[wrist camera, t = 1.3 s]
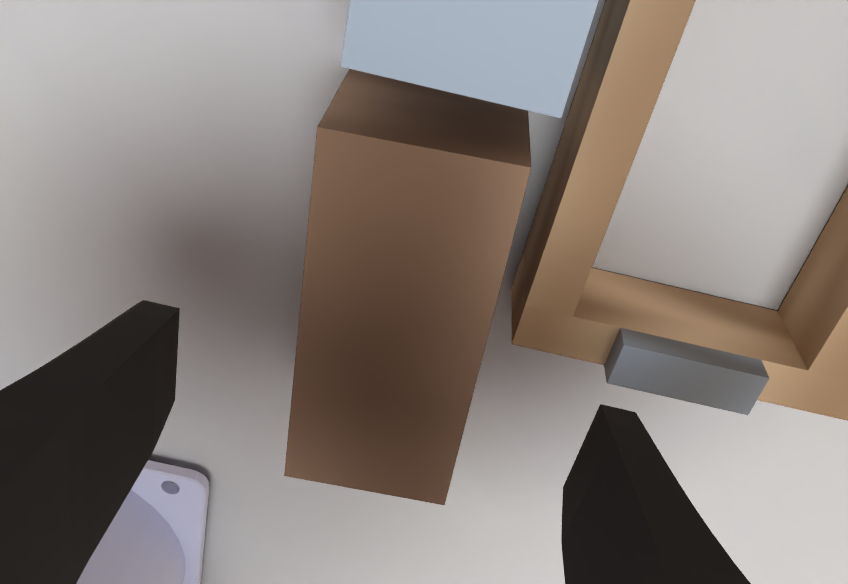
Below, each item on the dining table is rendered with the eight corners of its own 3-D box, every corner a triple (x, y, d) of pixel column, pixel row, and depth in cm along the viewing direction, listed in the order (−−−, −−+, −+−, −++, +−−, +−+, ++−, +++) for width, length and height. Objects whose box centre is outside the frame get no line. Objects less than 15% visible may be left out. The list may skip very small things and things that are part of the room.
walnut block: (321, 362, 21) (284, 475, 17) (357, 55, 16) (317, 126, 13) (454, 387, 21) (444, 505, 17) (526, 88, 16) (531, 167, 13)
